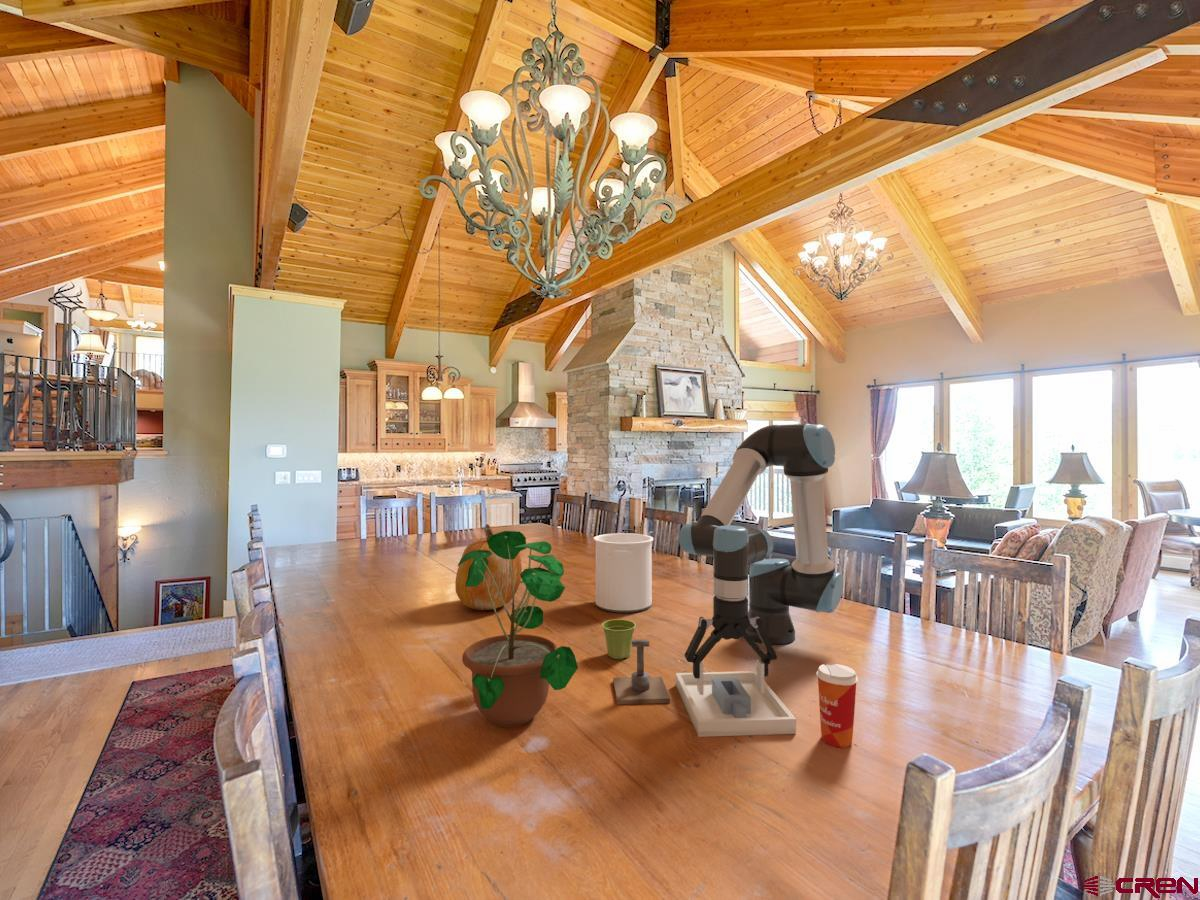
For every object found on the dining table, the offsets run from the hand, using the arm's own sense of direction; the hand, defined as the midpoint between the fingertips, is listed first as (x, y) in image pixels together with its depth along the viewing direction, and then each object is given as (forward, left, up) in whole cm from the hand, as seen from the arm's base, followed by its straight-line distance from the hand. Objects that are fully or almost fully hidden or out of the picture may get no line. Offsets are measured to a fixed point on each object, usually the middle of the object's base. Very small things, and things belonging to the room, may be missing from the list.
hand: (730, 691), depth 126 cm
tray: (0, 0, -4) cm, 4 cm away
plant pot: (+22, -32, -4) cm, 39 cm away
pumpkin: (+64, -82, -4) cm, 104 cm away
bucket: (+16, -80, -4) cm, 82 cm away
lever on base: (+19, -9, -4) cm, 21 cm away
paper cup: (-17, +15, -4) cm, 23 cm away
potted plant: (+45, 0, -4) cm, 45 cm away
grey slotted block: (0, +1, -2) cm, 3 cm away
